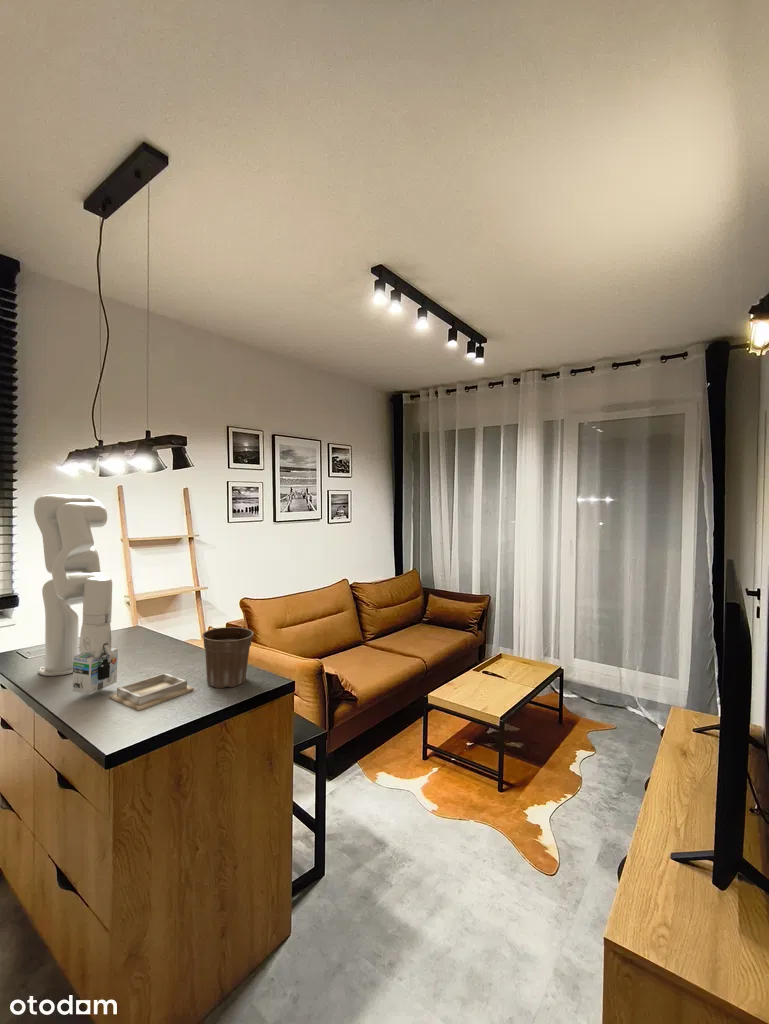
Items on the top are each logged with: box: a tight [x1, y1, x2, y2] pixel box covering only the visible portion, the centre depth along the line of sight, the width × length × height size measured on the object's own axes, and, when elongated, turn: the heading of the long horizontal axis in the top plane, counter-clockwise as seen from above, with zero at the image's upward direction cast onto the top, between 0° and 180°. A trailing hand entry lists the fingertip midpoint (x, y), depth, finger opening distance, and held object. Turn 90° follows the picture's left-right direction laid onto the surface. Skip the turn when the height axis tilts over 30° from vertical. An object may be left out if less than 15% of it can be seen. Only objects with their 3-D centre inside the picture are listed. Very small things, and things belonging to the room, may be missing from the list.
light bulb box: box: [72, 647, 119, 695], centre depth 148 cm, size 11×7×11 cm, turn 167°
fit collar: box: [109, 672, 195, 711], centre depth 149 cm, size 15×18×3 cm
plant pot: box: [201, 626, 254, 689], centre depth 161 cm, size 16×16×16 cm
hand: (95, 674), depth 148 cm, fingers closed on light bulb box, 8 cm apart
